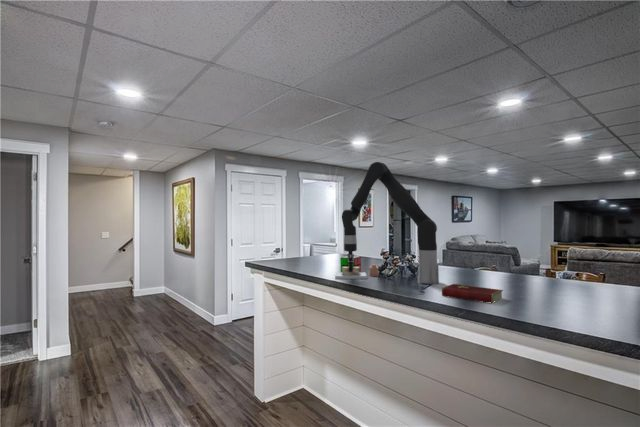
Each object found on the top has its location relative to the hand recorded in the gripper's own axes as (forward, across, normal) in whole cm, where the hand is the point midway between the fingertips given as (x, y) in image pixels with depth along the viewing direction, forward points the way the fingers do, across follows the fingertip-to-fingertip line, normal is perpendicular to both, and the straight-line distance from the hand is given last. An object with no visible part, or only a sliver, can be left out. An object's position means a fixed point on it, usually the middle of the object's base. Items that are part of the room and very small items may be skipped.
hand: (350, 270), depth 201 cm
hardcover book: (+4, -52, -52) cm, 73 cm away
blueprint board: (+4, 0, 0) cm, 4 cm away
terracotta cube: (+4, +6, -14) cm, 16 cm away
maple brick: (+2, 0, 0) cm, 2 cm away
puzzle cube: (+4, +17, 0) cm, 17 cm away
